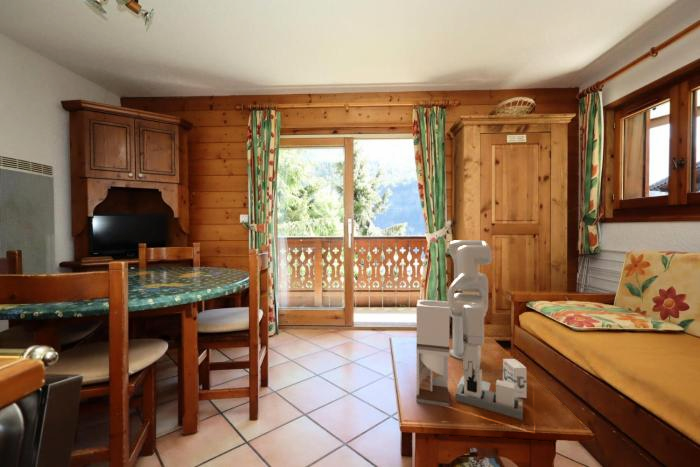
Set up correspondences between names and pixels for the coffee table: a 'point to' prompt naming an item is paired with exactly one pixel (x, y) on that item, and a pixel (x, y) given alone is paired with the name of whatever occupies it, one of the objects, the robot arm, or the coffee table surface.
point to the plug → (479, 384)
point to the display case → (432, 352)
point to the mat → (484, 384)
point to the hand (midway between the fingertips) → (473, 387)
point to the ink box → (516, 376)
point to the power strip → (490, 403)
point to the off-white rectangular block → (505, 393)
